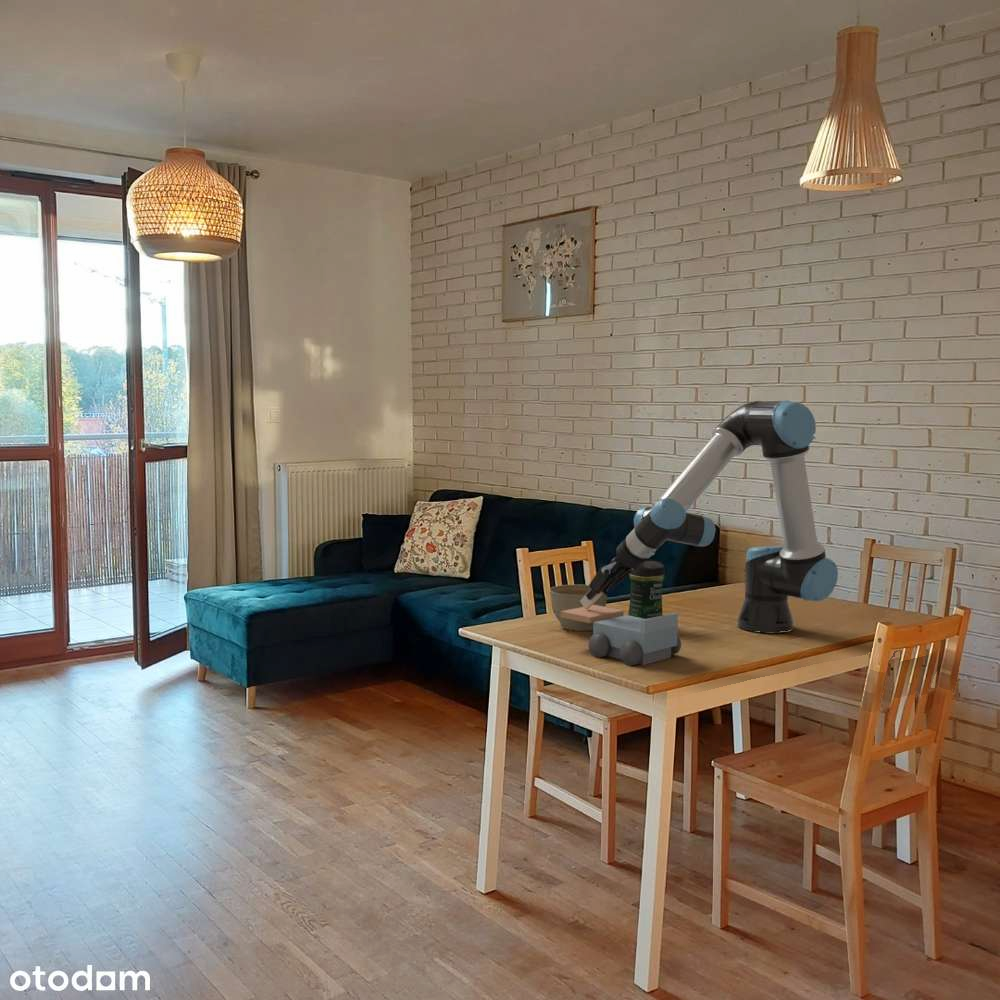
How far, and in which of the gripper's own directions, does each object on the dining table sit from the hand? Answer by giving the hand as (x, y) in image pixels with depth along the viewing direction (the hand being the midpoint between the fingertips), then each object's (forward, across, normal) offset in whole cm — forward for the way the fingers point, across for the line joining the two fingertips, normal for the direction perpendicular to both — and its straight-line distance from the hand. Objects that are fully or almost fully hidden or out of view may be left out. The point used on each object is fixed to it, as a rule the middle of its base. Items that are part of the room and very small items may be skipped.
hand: (584, 604), depth 261 cm
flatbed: (-5, 0, -19) cm, 20 cm away
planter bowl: (+17, +13, +2) cm, 21 cm away
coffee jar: (+9, +28, -6) cm, 30 cm away
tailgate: (-4, 0, -7) cm, 8 cm away
